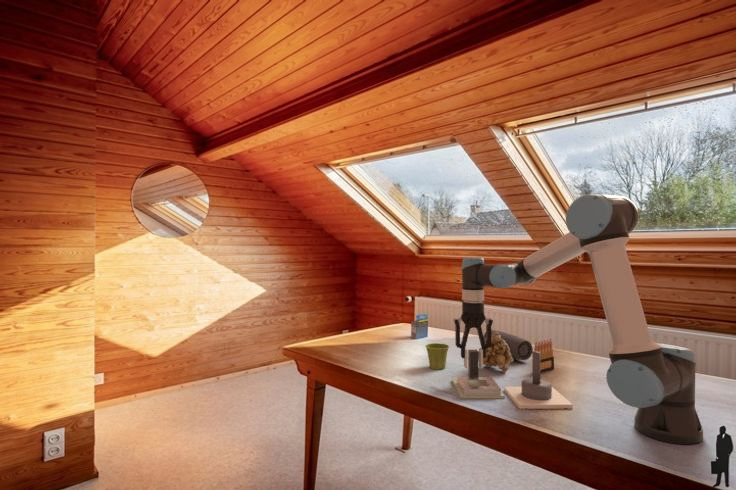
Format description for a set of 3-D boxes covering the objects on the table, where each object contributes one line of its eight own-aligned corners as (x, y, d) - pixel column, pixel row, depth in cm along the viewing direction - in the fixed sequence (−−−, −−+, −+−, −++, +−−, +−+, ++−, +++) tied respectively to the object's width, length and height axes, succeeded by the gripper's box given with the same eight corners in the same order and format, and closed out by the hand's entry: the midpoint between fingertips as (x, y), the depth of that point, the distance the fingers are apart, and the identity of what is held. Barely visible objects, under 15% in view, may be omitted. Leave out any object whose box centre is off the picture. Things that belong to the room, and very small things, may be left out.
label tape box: (422, 335, 234) (422, 312, 234) (428, 337, 231) (428, 313, 231) (410, 338, 228) (410, 314, 228) (416, 339, 225) (416, 315, 225)
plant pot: (422, 369, 176) (421, 347, 175) (430, 363, 184) (430, 342, 184) (445, 372, 171) (444, 350, 171) (452, 366, 180) (452, 344, 179)
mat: (504, 398, 144) (504, 395, 144) (460, 398, 144) (460, 395, 144) (491, 381, 161) (491, 378, 161) (451, 381, 161) (451, 378, 161)
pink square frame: (500, 395, 144) (500, 361, 144) (463, 395, 145) (463, 361, 144) (489, 380, 159) (489, 349, 159) (455, 380, 159) (455, 349, 159)
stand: (572, 408, 135) (572, 359, 135) (519, 408, 135) (519, 359, 135) (551, 390, 151) (551, 345, 151) (504, 390, 151) (504, 346, 151)
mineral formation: (491, 363, 182) (491, 327, 182) (518, 372, 171) (518, 333, 170) (477, 367, 178) (477, 329, 177) (504, 376, 166) (504, 335, 166)
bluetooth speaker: (534, 362, 184) (534, 338, 184) (515, 364, 181) (515, 340, 180) (498, 349, 205) (498, 327, 205) (481, 351, 202) (481, 329, 202)
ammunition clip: (536, 374, 168) (536, 342, 168) (532, 373, 170) (532, 341, 169) (554, 369, 174) (554, 338, 174) (550, 368, 175) (550, 337, 175)
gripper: (495, 299, 161) (495, 364, 161) (446, 299, 161) (446, 364, 162) (501, 302, 153) (501, 370, 154) (449, 303, 154) (449, 370, 154)
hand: (473, 367), depth 158 cm, fingers open, 5 cm apart
